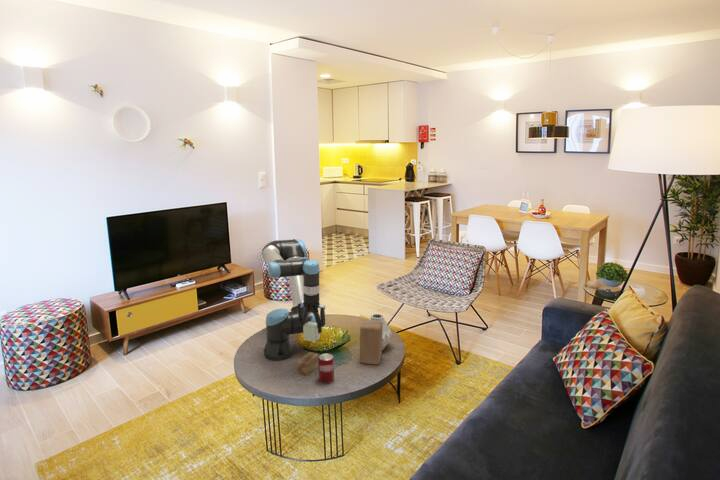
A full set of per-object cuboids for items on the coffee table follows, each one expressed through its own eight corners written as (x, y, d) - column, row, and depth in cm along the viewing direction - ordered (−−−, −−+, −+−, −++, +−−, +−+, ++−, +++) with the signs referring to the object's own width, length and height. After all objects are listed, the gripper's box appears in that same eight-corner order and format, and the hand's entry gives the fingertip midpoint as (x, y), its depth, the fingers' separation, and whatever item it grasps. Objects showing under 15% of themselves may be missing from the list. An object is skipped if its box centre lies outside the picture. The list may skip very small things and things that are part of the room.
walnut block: (297, 373, 224) (297, 362, 223) (309, 362, 235) (309, 351, 234) (306, 375, 223) (306, 364, 221) (318, 364, 233) (318, 353, 232)
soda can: (318, 376, 222) (318, 353, 219) (333, 376, 222) (333, 353, 220) (318, 384, 215) (318, 360, 212) (334, 384, 215) (334, 360, 213)
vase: (359, 353, 245) (359, 320, 241) (364, 340, 261) (364, 309, 257) (390, 356, 243) (390, 323, 238) (393, 342, 258) (393, 311, 254)
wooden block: (378, 365, 233) (379, 328, 228) (359, 363, 235) (359, 326, 230) (381, 356, 242) (382, 320, 238) (363, 354, 244) (363, 319, 240)
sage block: (303, 339, 224) (303, 326, 222) (308, 334, 229) (308, 321, 228) (314, 341, 222) (314, 328, 220) (319, 336, 227) (319, 323, 226)
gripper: (289, 292, 220) (290, 337, 225) (326, 298, 213) (326, 344, 219) (297, 287, 226) (297, 331, 232) (333, 293, 220) (332, 337, 226)
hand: (311, 337), depth 226 cm, fingers closed on sage block, 6 cm apart
